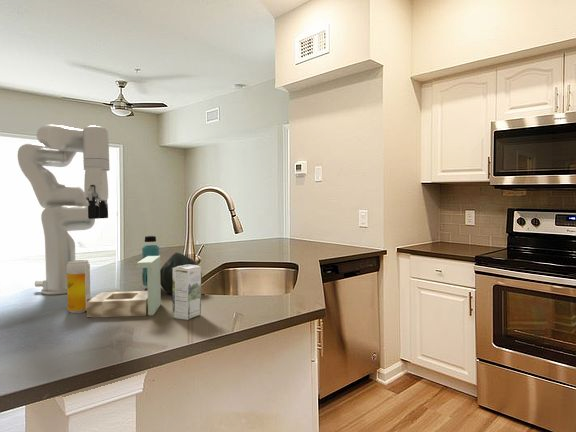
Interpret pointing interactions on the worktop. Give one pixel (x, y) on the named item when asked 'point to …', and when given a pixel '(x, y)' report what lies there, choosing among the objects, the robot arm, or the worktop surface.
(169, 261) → the squash
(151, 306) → the mint green slab
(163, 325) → the worktop surface
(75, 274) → the beer can
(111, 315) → the socket
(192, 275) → the syrup box
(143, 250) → the beverage bottle
